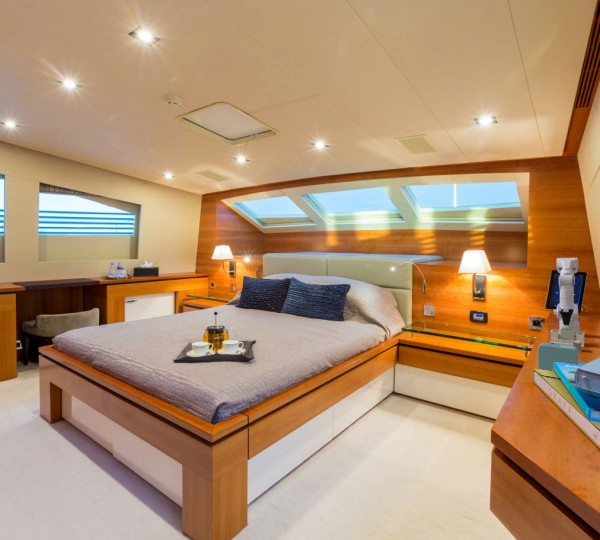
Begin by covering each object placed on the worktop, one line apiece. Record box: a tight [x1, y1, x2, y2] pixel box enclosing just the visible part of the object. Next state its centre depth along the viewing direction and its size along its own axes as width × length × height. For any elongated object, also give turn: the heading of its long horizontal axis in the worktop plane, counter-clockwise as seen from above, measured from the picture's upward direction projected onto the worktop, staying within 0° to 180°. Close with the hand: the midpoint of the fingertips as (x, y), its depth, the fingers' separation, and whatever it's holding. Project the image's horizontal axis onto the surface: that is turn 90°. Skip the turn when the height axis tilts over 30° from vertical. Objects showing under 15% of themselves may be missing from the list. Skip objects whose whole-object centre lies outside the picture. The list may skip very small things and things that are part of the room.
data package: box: [537, 342, 580, 371], centre depth 133 cm, size 12×4×12 cm, turn 48°
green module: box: [559, 328, 575, 341], centre depth 183 cm, size 4×6×7 cm
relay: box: [573, 340, 583, 352], centre depth 170 cm, size 5×3×4 cm, turn 140°
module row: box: [550, 329, 585, 348], centre depth 183 cm, size 10×14×6 cm
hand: (566, 323), depth 184 cm, fingers open, 7 cm apart
